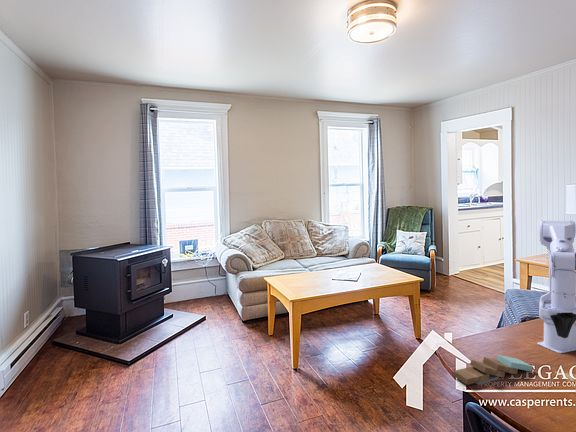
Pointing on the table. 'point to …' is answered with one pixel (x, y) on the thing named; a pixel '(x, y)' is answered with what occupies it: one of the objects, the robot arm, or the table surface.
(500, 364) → the domino
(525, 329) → the table surface
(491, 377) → the charcoal domino
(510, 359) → the teal domino
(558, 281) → the robot arm
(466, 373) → the domino
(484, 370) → the domino
